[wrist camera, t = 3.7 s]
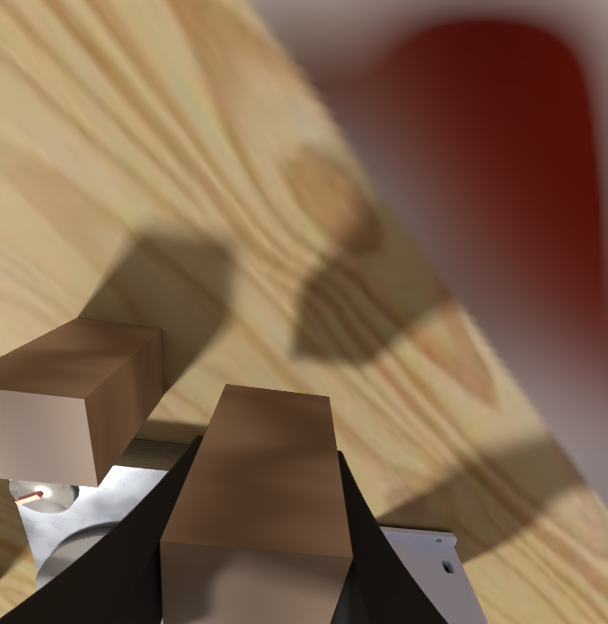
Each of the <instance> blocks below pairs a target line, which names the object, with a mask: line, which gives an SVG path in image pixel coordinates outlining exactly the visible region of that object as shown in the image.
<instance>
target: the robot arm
mask: <svg viewBox="0 0 608 624" xmlns="http://www.w3.org/2000/svg"><path fill="white" fill-rule="evenodd" d="M203 437H204V436H201V435H198V436H197V437H196V438H195V439H194V440H193V442H192V443H191V444H190V446H189V447H188V448H187V450H186V451H185V452H184V453H183V455H182V456H181V457H180V458H179V459H178V461H177V462H176V463H175V464H174V465H173V467H172V468H171V469H170V470H169V471H168V472H167V473H166V475H165V476H164V477H163V478H162V479H161V480H160V481H159V482H158V484H157V485H156V486H155V487H154V488H153V489H152V490H151V491H150V492H149V493H148V494H147V495H146V496H145V497H144V498H143V499H142V500H141V501H140V502H139V503H138V504H137V505H136V506H135V507H134V508H133V509H132V510H131V511H130V512H129V513H128V514H127V515H126V516H125V517H124V518H123V519H122V520H121V521H120V522H119V523H118V524H117V525H116V526H115V527H114V528H112V529H111V530H110V531H109V532H108V533H107V534H106V535H105V536H104V537H102V538H101V539H100V540H99V541H98V542H97V543H96V544H94V545H93V546H92V547H91V548H90V549H89V550H87V551H86V552H85V553H84V554H83V555H82V556H80V557H79V558H78V559H77V560H76V561H74V562H73V563H72V564H71V565H70V566H68V567H67V568H66V569H65V570H63V571H62V572H61V573H59V574H58V575H57V576H56V577H54V578H53V579H52V580H50V581H49V582H48V583H47V584H45V585H44V586H43V587H42V588H40V589H39V590H38V591H36V592H35V593H34V594H33V595H31V596H30V597H29V598H27V599H26V600H25V601H23V602H22V603H21V604H19V605H18V606H17V607H15V608H14V609H12V610H11V611H10V612H8V613H7V614H5V615H4V616H3V617H1V618H0V624H161V622H162V619H163V607H162V581H161V556H160V540H161V537H162V535H163V533H164V530H165V528H166V525H167V523H168V521H169V518H170V516H171V514H172V511H173V509H174V506H175V504H176V502H177V499H178V497H179V494H180V492H181V490H182V487H183V485H184V483H185V480H186V478H187V475H188V473H189V471H190V468H191V466H192V464H193V461H194V459H195V456H196V454H197V452H198V449H199V447H200V445H201V442H202V440H203ZM337 453H338V460H339V466H340V473H341V480H342V487H343V493H344V500H345V507H346V514H347V520H348V527H349V534H350V541H351V547H352V554H353V559H352V562H351V565H350V568H349V571H348V574H347V576H346V579H345V582H344V585H343V588H342V591H341V594H340V597H339V599H338V602H337V605H336V608H335V611H334V614H333V617H332V619H331V622H330V624H488V622H487V620H486V617H485V615H484V613H483V611H482V608H481V606H480V604H479V602H478V599H477V597H476V595H475V593H474V591H473V588H472V586H471V584H470V582H469V579H468V577H467V575H466V573H465V570H464V568H463V566H462V564H461V562H460V559H459V557H458V555H457V553H456V550H455V548H454V546H455V544H456V543H457V539H456V537H455V535H454V534H453V533H448V532H436V531H425V530H414V529H403V528H392V527H380V526H379V525H378V523H377V521H376V520H375V518H374V516H373V514H372V513H371V511H370V509H369V507H368V505H367V503H366V502H365V500H364V498H363V496H362V494H361V492H360V490H359V488H358V486H357V484H356V482H355V480H354V478H353V476H352V473H351V471H350V469H349V467H348V464H347V462H346V460H345V457H344V455H343V453H342V452H341V451H337Z"/></svg>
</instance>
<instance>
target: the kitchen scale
mask: <svg viewBox="0 0 608 624" xmlns="http://www.w3.org/2000/svg"><path fill="white" fill-rule="evenodd" d="M189 446H190V445H186V444H177V443H167V442H158V441H148V440H138V439H132V441H131V442H130V443H129V445H128V446H127V448H126V449H125V450H124V452H123V453H122V455H121V456H120V457H119V459H118V460H117V462H116V463H115V464H114V466H113V467H112V469H111V470H110V471H109V473H108V474H107V476H106V477H105V478H104V480H103V481H102V483H101V484H100V485H99V487H98V488H96V487H85V486H74V485H63V484H53V483H42V482H31V481H20V480H10V479H9V481H10V483H9V489H10V492H11V494H12V496H13V497H14V498H15V500H16V501H15V503H17V506H18V509H19V512H20V516H21V519H22V522H23V525H24V528H25V532H26V535H27V538H28V541H29V544H30V548H31V551H32V554H33V557H34V560H35V564H36V567H37V570H38V574H37V578H36V588H37V591H38V590H39V589H40V588H42V587H43V586H44V585H45V584H47V583H48V582H49V581H50V580H52V579H53V578H54V577H56V576H57V575H58V574H59V573H61V572H62V571H63V570H65V569H66V568H67V567H68V566H70V565H71V564H72V563H73V562H74V561H76V560H77V559H78V558H79V557H80V556H82V555H83V554H84V553H85V552H86V551H87V550H89V549H90V548H91V547H92V546H93V545H94V544H96V543H97V542H98V541H99V540H100V539H101V538H102V537H104V536H105V535H106V534H107V533H108V532H109V531H110V530H111V529H112V528H114V527H115V526H116V525H117V524H118V523H119V522H120V521H121V520H122V519H123V518H124V517H125V516H126V515H127V514H128V513H129V512H130V511H131V510H132V509H133V508H134V507H135V506H136V505H137V504H138V503H139V502H140V501H141V500H142V499H143V498H144V497H145V496H146V495H147V494H148V493H149V492H150V491H151V490H152V489H153V488H154V487H155V486H156V485H157V484H158V482H159V481H160V480H161V479H162V478H163V477H164V476H165V475H166V473H167V472H168V471H169V470H170V469H171V468H172V467H173V465H174V464H175V463H176V462H177V461H178V459H179V458H180V457H181V456H182V455H183V453H184V452H185V451H186V450H187V448H188V447H189ZM161 624H163V619H162V622H161Z"/></svg>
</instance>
